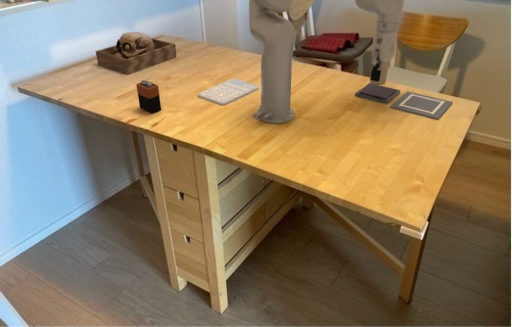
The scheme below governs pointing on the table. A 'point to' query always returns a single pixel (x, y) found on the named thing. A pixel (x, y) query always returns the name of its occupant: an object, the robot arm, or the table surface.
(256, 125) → the table surface
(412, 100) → the marked board
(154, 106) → the battery
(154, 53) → the wooden tray
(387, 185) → the table surface
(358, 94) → the ink pad
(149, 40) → the brown skull
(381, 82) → the candle
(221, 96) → the calculator
